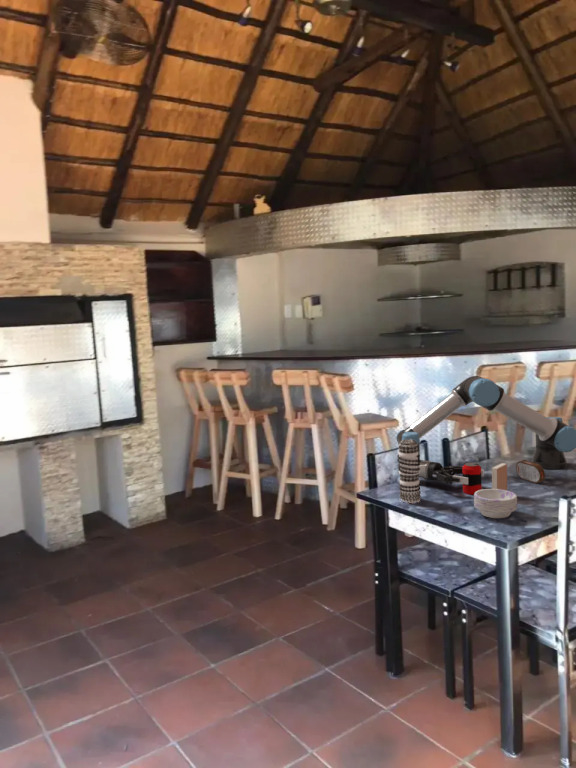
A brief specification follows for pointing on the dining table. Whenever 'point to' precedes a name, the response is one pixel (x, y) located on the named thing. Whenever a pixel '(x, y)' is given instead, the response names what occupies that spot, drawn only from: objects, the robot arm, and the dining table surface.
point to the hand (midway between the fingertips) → (475, 477)
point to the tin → (530, 471)
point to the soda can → (472, 478)
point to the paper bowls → (495, 502)
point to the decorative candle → (409, 471)
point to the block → (499, 477)
